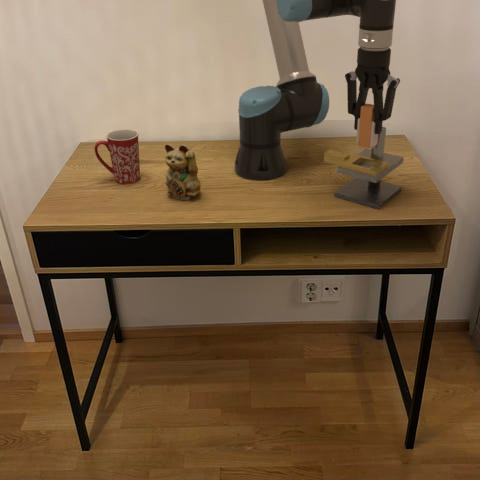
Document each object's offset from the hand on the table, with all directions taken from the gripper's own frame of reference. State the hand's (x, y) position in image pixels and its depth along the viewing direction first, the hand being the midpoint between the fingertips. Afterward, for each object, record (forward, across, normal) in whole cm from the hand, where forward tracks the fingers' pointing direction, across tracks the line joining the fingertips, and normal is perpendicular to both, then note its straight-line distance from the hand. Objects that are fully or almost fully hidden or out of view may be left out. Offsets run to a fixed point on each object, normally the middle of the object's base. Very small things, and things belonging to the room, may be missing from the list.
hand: (366, 143), depth 147 cm
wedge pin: (0, 0, 0) cm, 0 cm away
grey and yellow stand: (+15, -2, +4) cm, 16 cm away
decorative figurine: (+15, -40, -25) cm, 50 cm away
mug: (+15, -62, -28) cm, 70 cm away
